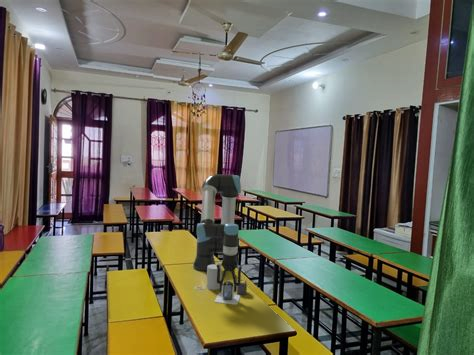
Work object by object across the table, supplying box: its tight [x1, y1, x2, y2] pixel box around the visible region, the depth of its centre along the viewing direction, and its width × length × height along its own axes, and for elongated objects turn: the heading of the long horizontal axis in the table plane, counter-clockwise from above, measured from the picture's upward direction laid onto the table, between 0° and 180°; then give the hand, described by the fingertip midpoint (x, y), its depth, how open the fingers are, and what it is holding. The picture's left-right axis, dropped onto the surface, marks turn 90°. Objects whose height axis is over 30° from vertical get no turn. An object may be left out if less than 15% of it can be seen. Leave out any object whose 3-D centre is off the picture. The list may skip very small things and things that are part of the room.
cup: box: [206, 264, 223, 291], centre depth 194 cm, size 8×8×12 cm
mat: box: [213, 292, 242, 306], centre depth 179 cm, size 12×12×1 cm
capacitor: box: [223, 280, 234, 301], centre depth 179 cm, size 5×5×8 cm
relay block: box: [236, 280, 248, 296], centre depth 188 cm, size 5×5×6 cm
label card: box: [194, 286, 205, 291], centre depth 192 cm, size 3×5×1 cm, turn 82°
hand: (227, 297), depth 179 cm, fingers closed on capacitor, 5 cm apart
